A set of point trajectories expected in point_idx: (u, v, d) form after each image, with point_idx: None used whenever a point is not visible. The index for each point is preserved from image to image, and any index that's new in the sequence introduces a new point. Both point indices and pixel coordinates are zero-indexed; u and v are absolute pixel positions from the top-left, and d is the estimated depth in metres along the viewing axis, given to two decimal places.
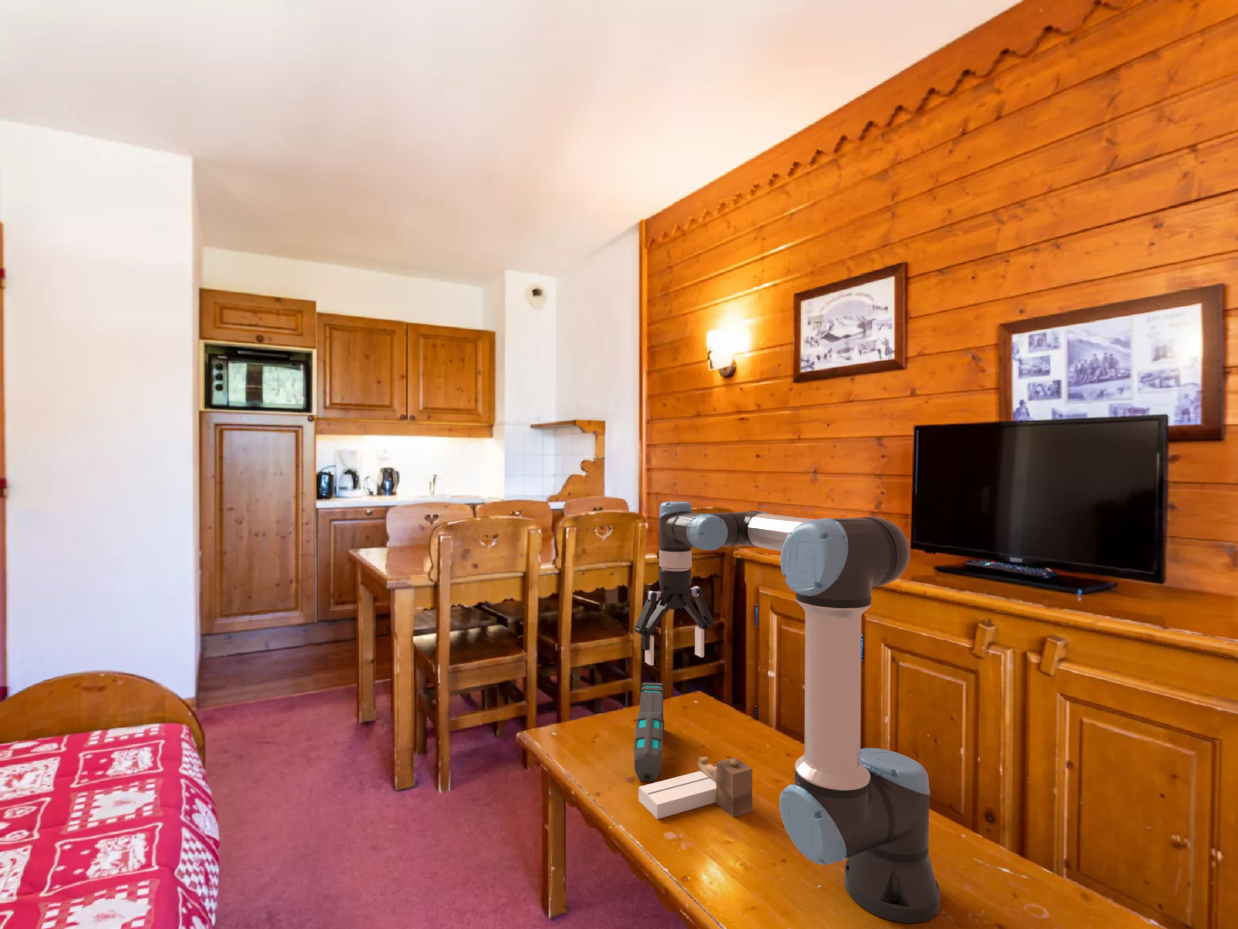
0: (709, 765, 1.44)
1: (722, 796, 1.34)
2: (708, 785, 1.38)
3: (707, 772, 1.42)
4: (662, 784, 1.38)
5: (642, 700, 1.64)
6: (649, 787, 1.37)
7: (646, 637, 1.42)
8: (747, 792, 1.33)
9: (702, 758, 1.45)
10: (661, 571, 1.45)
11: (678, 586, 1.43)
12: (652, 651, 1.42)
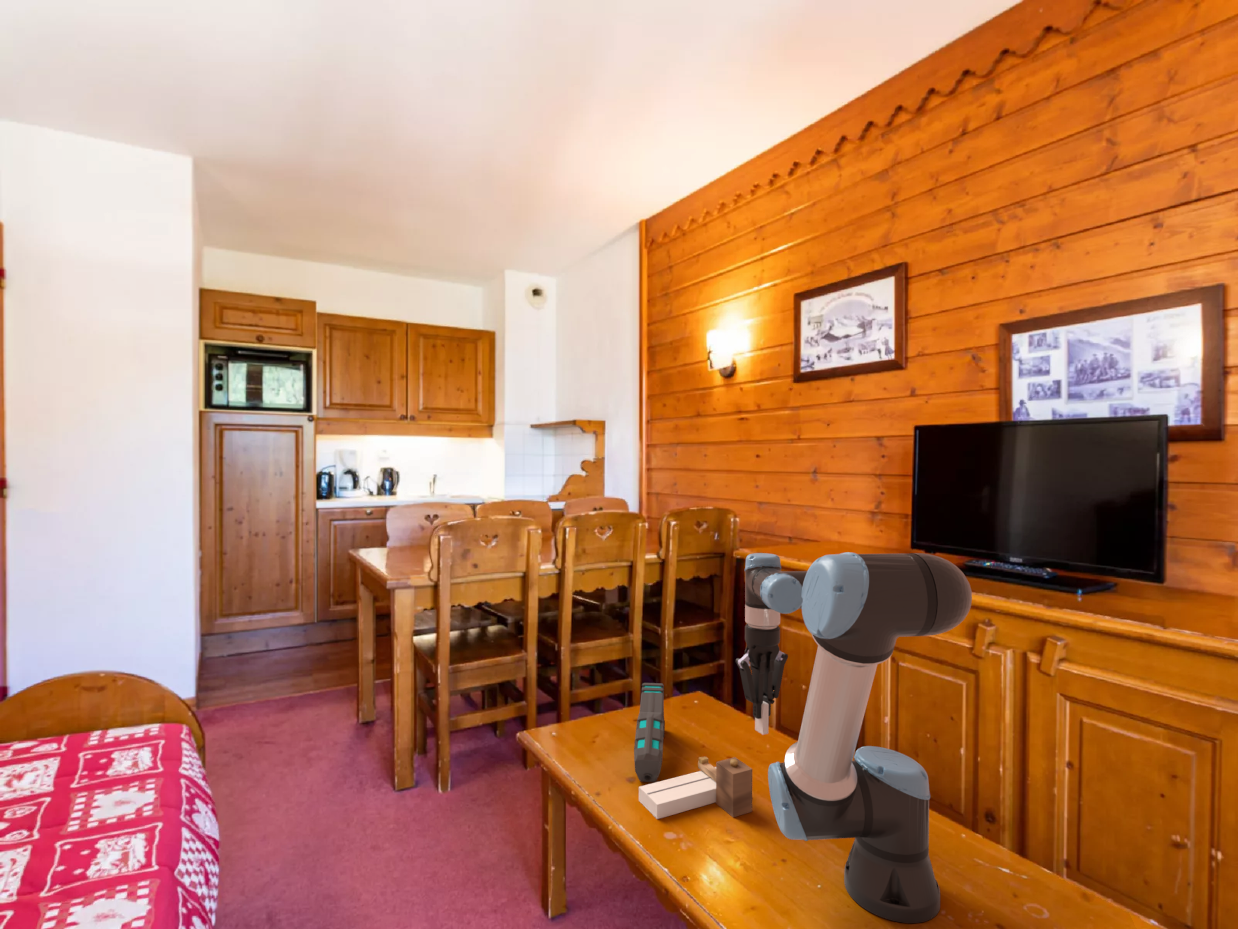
0: (709, 765, 1.44)
1: (722, 796, 1.34)
2: (708, 785, 1.38)
3: (707, 772, 1.42)
4: (662, 784, 1.38)
5: (642, 700, 1.64)
6: (649, 787, 1.37)
7: (758, 705, 1.37)
8: (747, 792, 1.33)
9: (702, 758, 1.45)
10: (748, 628, 1.37)
11: (768, 645, 1.34)
12: (764, 720, 1.37)
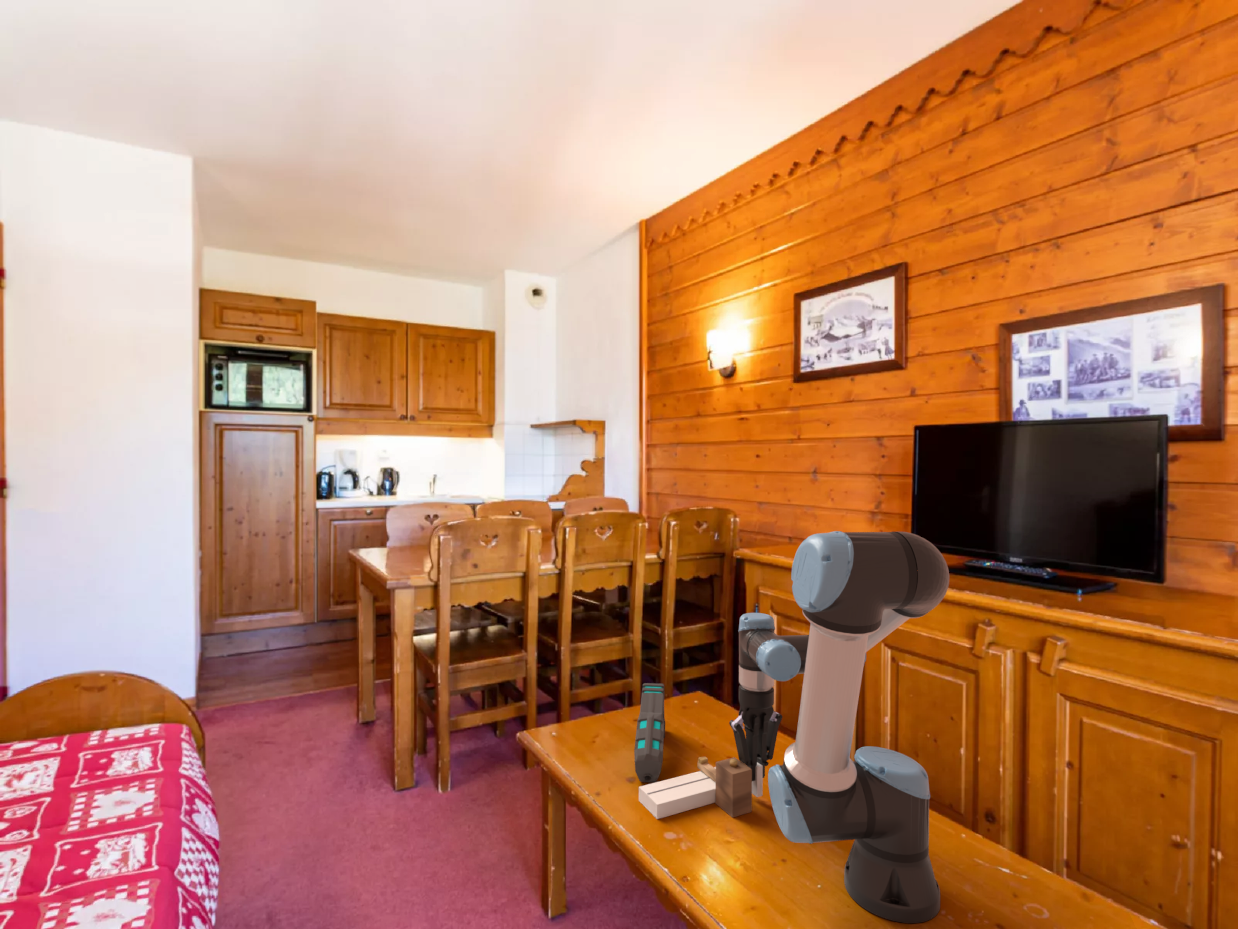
0: (708, 765, 1.44)
1: (721, 796, 1.34)
2: (708, 785, 1.38)
3: (706, 772, 1.42)
4: (662, 784, 1.38)
5: (643, 700, 1.63)
6: (649, 787, 1.37)
7: (752, 767, 1.36)
8: (746, 792, 1.33)
9: (701, 758, 1.45)
10: (742, 690, 1.36)
11: (761, 708, 1.34)
12: (758, 782, 1.36)
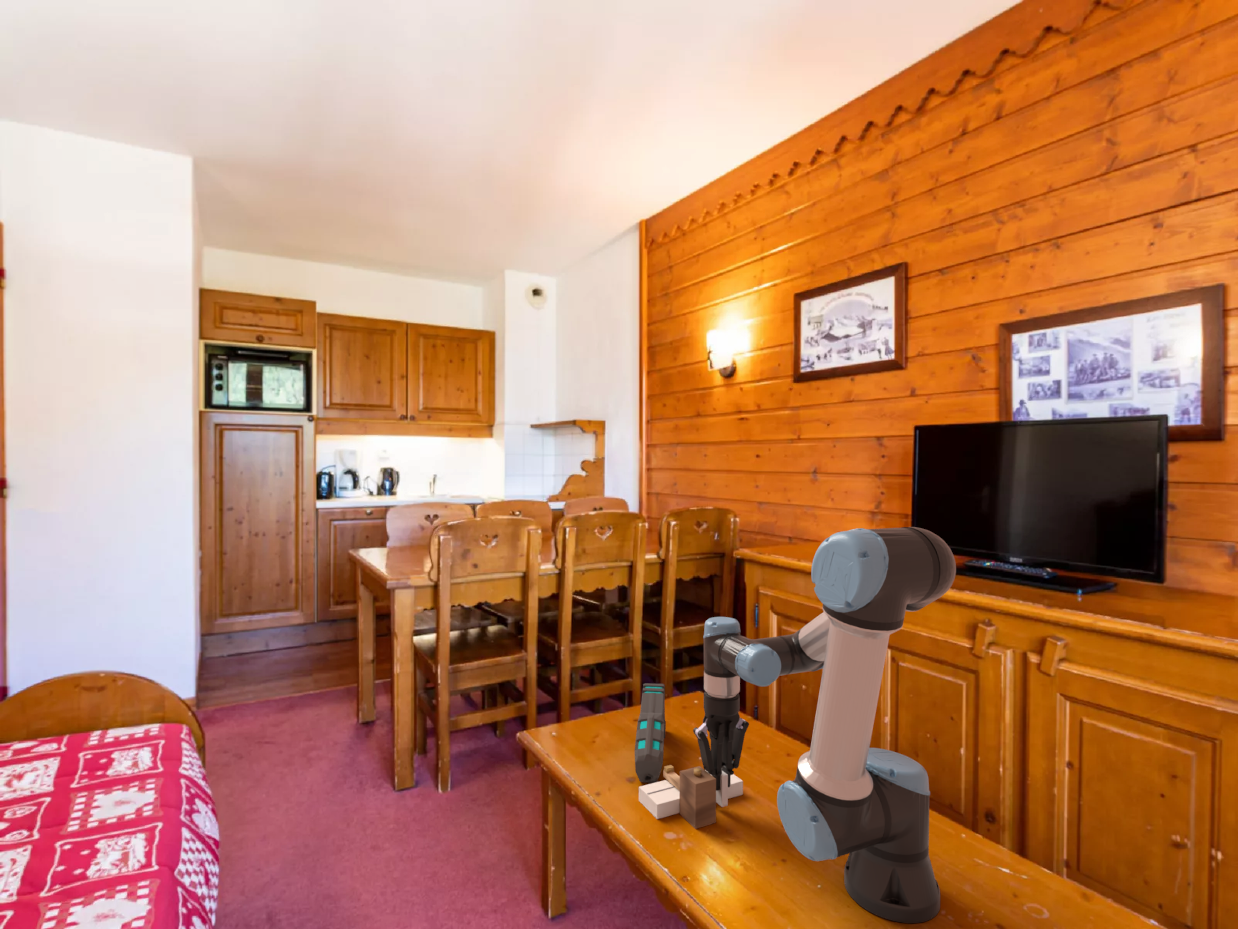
0: (674, 774, 1.39)
1: (685, 807, 1.30)
2: None
3: (672, 781, 1.38)
4: (662, 784, 1.38)
5: (643, 701, 1.63)
6: (649, 787, 1.37)
7: (717, 776, 1.32)
8: (710, 803, 1.28)
9: (667, 767, 1.41)
10: (706, 696, 1.32)
11: (726, 715, 1.30)
12: (723, 791, 1.32)
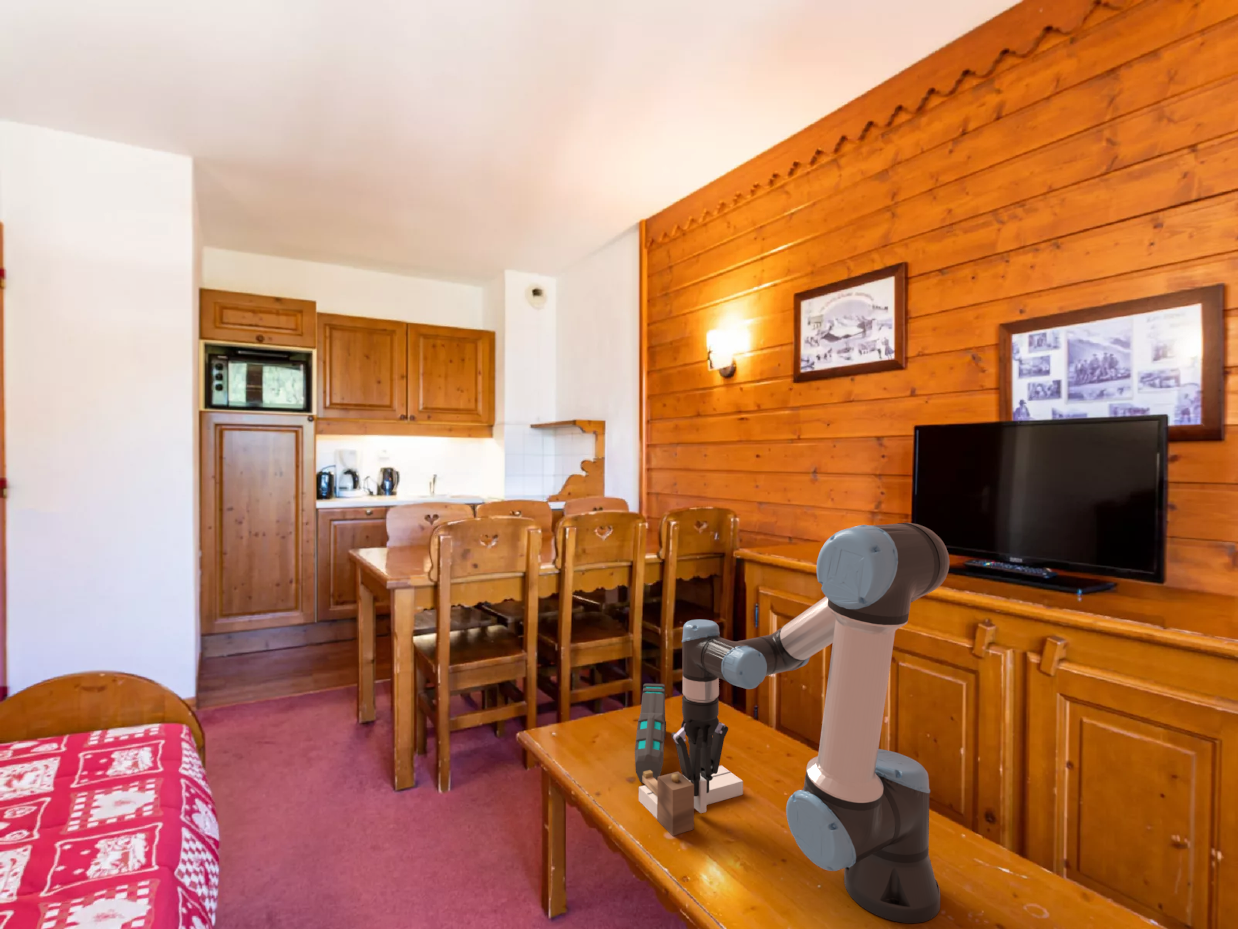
0: (653, 779, 1.37)
1: (662, 813, 1.28)
2: None
3: (650, 787, 1.35)
4: None
5: (643, 701, 1.63)
6: None
7: (695, 782, 1.30)
8: (688, 809, 1.26)
9: (646, 772, 1.38)
10: (685, 701, 1.29)
11: (704, 720, 1.27)
12: (702, 797, 1.30)
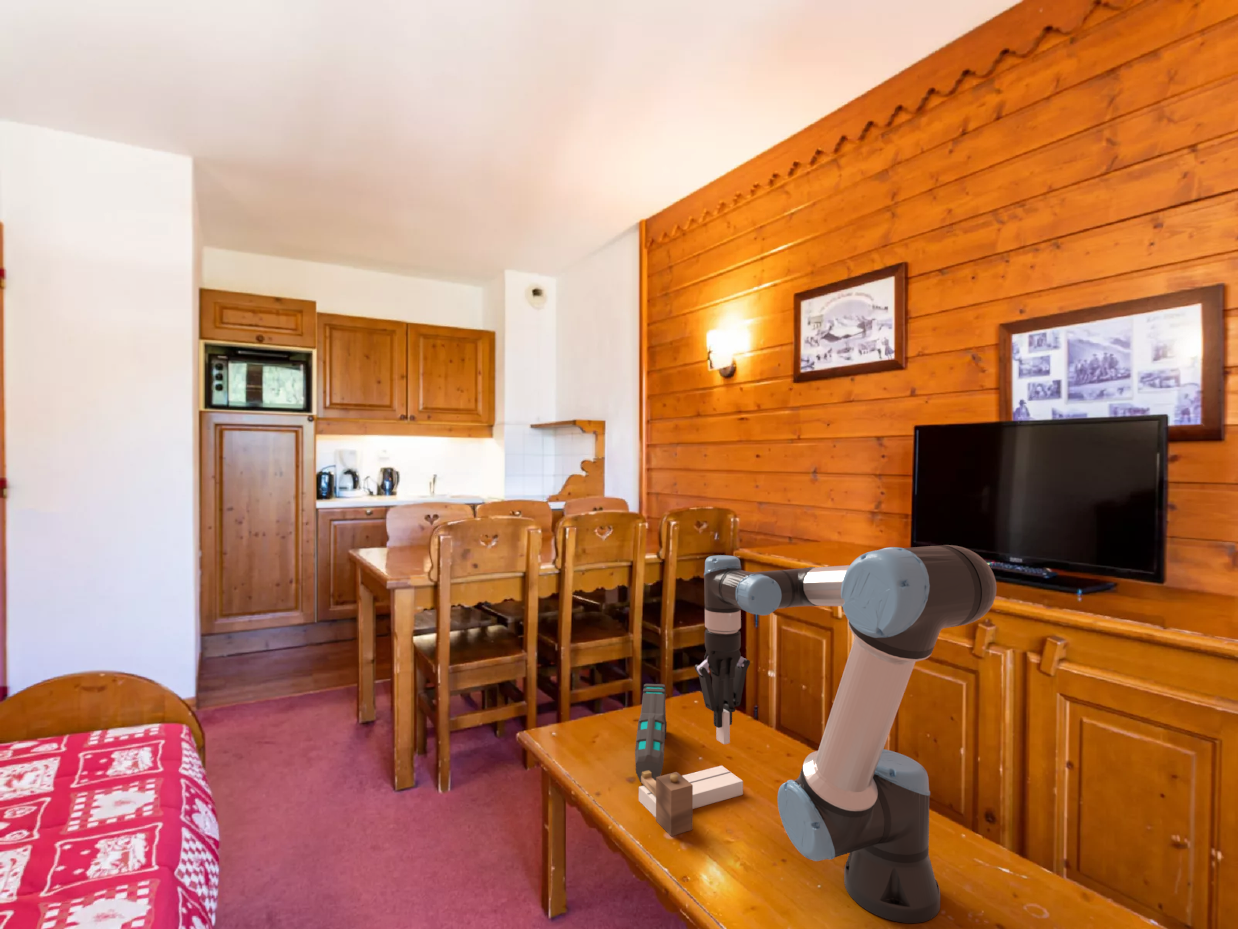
0: (652, 780, 1.37)
1: (661, 814, 1.28)
2: (708, 785, 1.38)
3: (649, 787, 1.35)
4: None
5: (644, 701, 1.63)
6: None
7: (718, 713, 1.32)
8: (687, 809, 1.26)
9: (645, 772, 1.38)
10: (708, 633, 1.32)
11: (727, 650, 1.30)
12: (725, 729, 1.32)
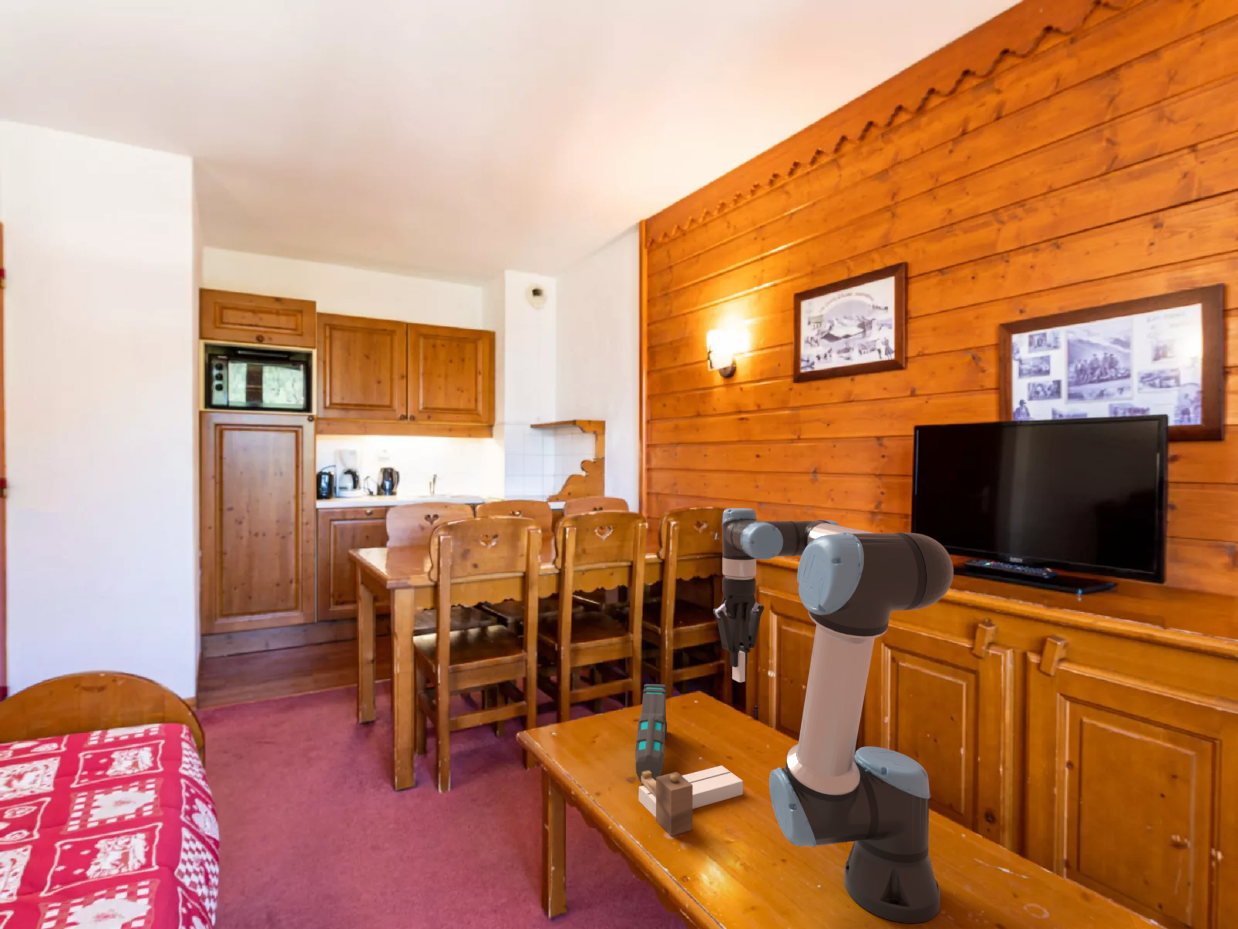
0: (652, 780, 1.37)
1: (661, 814, 1.28)
2: (708, 785, 1.38)
3: (649, 787, 1.35)
4: None
5: (644, 701, 1.63)
6: None
7: (735, 654, 1.42)
8: (687, 809, 1.26)
9: (645, 772, 1.38)
10: (725, 579, 1.42)
11: (744, 595, 1.39)
12: (741, 668, 1.42)
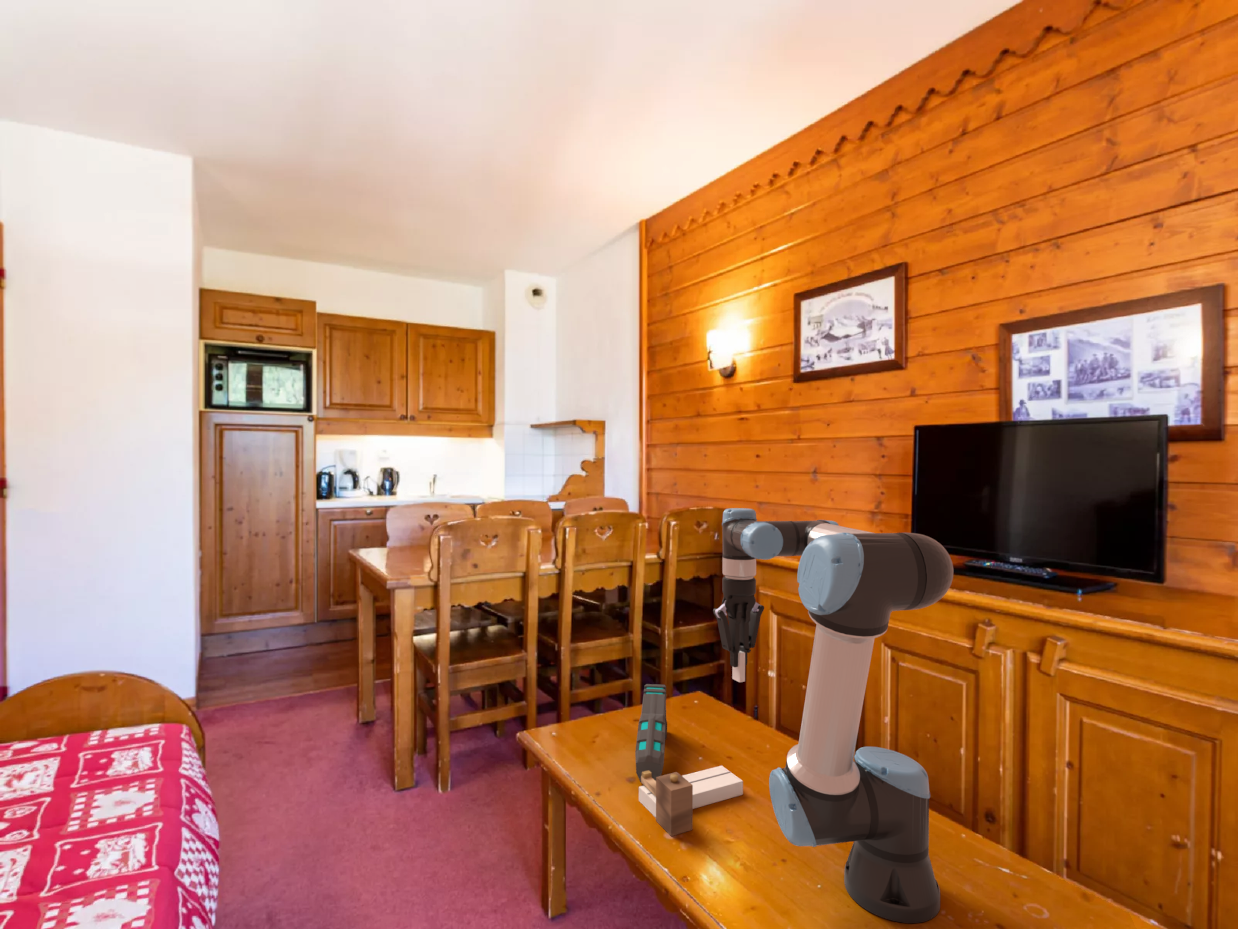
0: (652, 780, 1.37)
1: (661, 814, 1.28)
2: (708, 785, 1.38)
3: (649, 787, 1.35)
4: None
5: (644, 701, 1.63)
6: None
7: (735, 654, 1.42)
8: (687, 809, 1.26)
9: (645, 772, 1.38)
10: (725, 579, 1.42)
11: (744, 595, 1.39)
12: (741, 668, 1.42)
